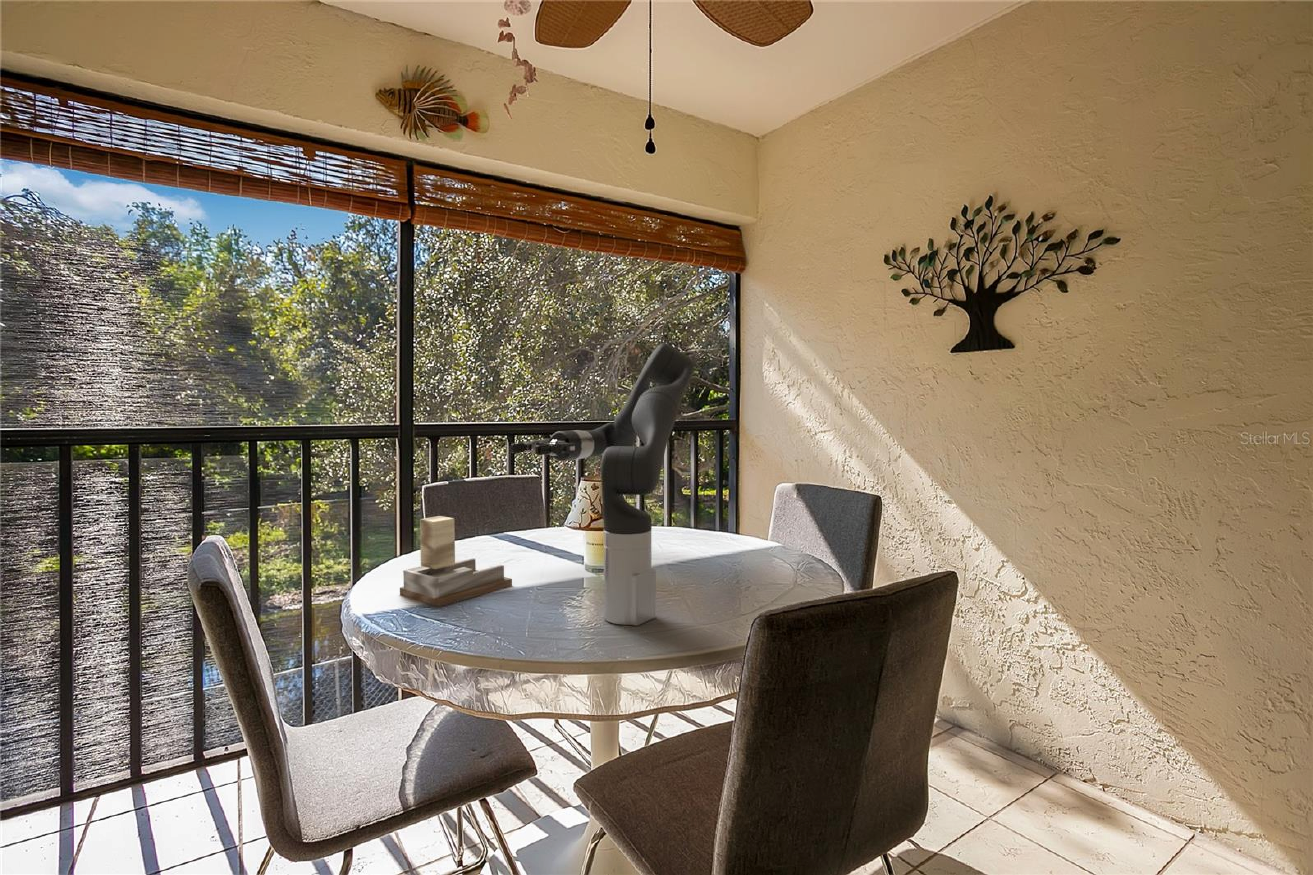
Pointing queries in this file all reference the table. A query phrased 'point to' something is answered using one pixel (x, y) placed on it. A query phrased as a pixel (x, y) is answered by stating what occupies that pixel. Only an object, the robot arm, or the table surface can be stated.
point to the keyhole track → (452, 583)
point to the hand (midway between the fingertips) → (523, 449)
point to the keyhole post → (437, 543)
